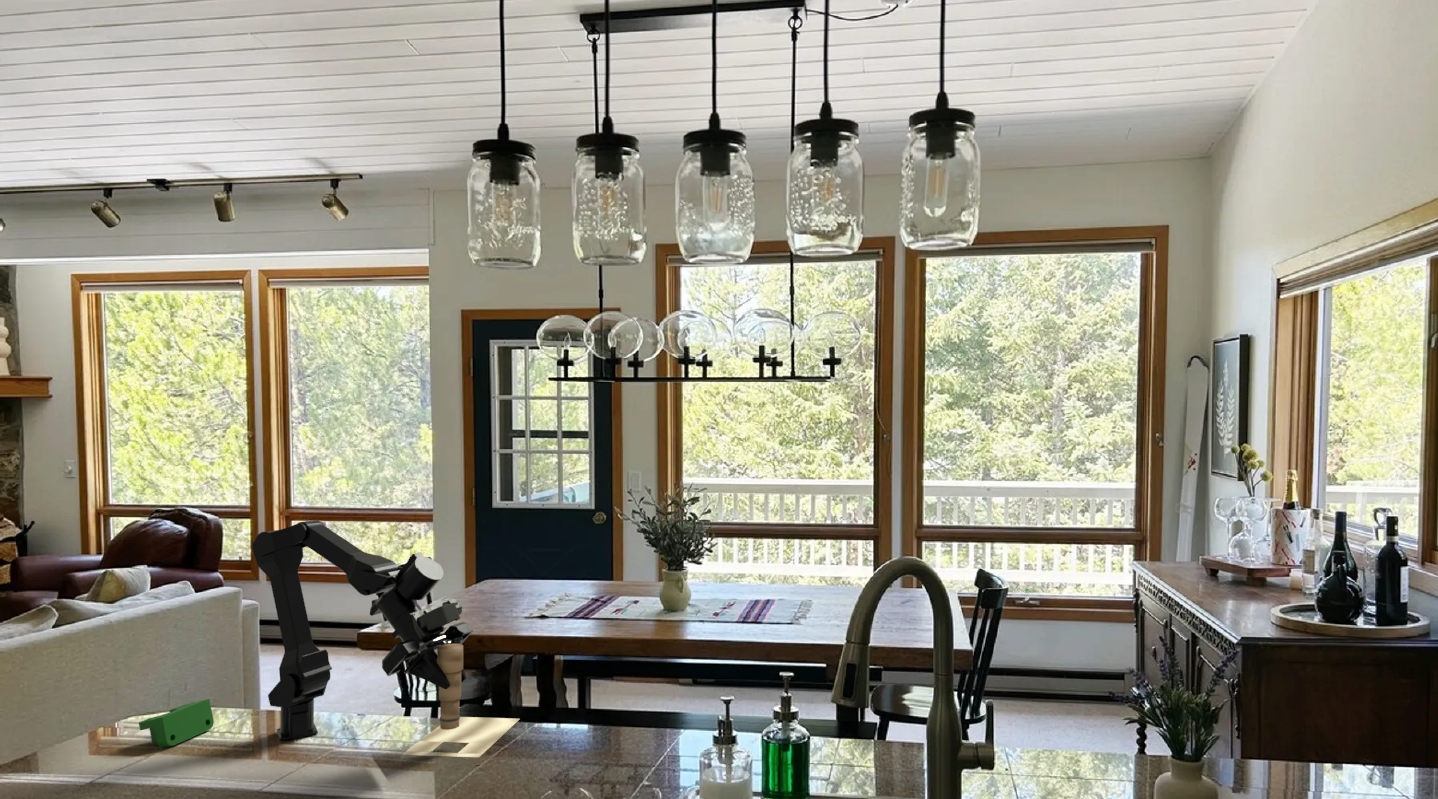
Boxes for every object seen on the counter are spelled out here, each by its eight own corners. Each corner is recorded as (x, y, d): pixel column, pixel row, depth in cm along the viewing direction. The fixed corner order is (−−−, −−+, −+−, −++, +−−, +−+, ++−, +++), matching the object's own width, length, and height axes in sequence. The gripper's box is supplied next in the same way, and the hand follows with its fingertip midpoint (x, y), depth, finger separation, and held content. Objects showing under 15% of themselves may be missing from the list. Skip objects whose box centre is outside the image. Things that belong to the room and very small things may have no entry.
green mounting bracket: (184, 754, 164) (190, 705, 168) (210, 748, 163) (216, 699, 167) (130, 750, 154) (138, 699, 158) (158, 744, 153) (165, 692, 157)
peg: (437, 723, 152) (438, 644, 152) (463, 721, 153) (463, 643, 153) (435, 731, 147) (436, 650, 148) (462, 729, 148) (462, 648, 149)
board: (401, 763, 147) (401, 754, 147) (451, 724, 167) (451, 716, 167) (478, 766, 145) (478, 757, 145) (520, 726, 165) (520, 718, 165)
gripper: (396, 596, 144) (449, 668, 139) (464, 578, 161) (514, 641, 157) (358, 639, 146) (410, 711, 142) (430, 617, 164) (478, 680, 159)
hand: (456, 684), depth 150 cm, fingers closed on peg, 4 cm apart
